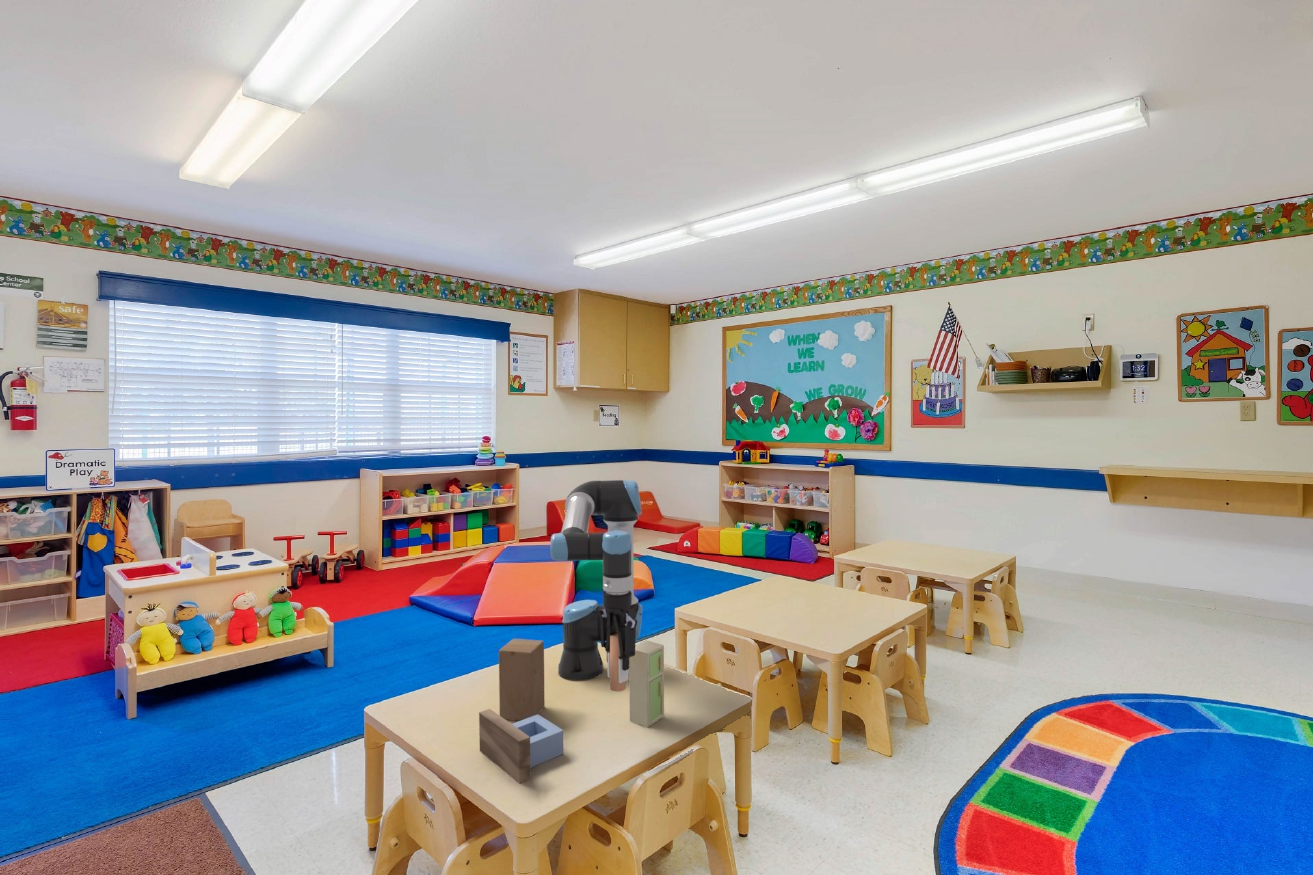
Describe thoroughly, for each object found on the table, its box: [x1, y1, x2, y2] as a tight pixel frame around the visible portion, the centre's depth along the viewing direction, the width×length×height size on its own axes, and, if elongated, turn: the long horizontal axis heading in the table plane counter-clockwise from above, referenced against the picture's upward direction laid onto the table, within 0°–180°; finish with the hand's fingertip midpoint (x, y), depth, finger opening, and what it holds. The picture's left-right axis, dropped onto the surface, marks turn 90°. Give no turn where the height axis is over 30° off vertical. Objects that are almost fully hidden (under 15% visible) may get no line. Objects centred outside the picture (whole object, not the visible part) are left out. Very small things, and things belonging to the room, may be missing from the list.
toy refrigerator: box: [628, 640, 665, 728], centre depth 179 cm, size 8×7×21 cm
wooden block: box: [498, 638, 546, 722], centre depth 183 cm, size 10×10×20 cm
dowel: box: [609, 633, 627, 692], centre depth 166 cm, size 4×4×14 cm
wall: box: [478, 708, 532, 784], centre depth 156 cm, size 3×20×10 cm, turn 42°
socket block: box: [511, 714, 564, 769], centre depth 161 cm, size 12×12×6 cm
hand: (617, 678), depth 166 cm, fingers closed on dowel, 4 cm apart
